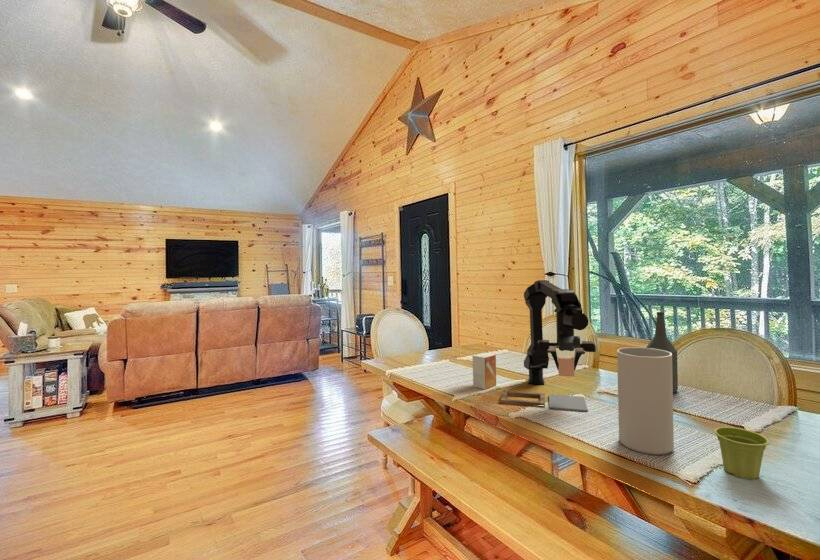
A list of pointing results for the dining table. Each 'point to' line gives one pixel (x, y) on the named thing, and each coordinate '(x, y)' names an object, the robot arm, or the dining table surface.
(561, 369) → the block
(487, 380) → the small box
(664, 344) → the bottle
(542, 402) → the holder
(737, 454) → the plant pot
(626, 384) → the cylinder vase
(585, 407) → the mat
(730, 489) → the dining table surface
